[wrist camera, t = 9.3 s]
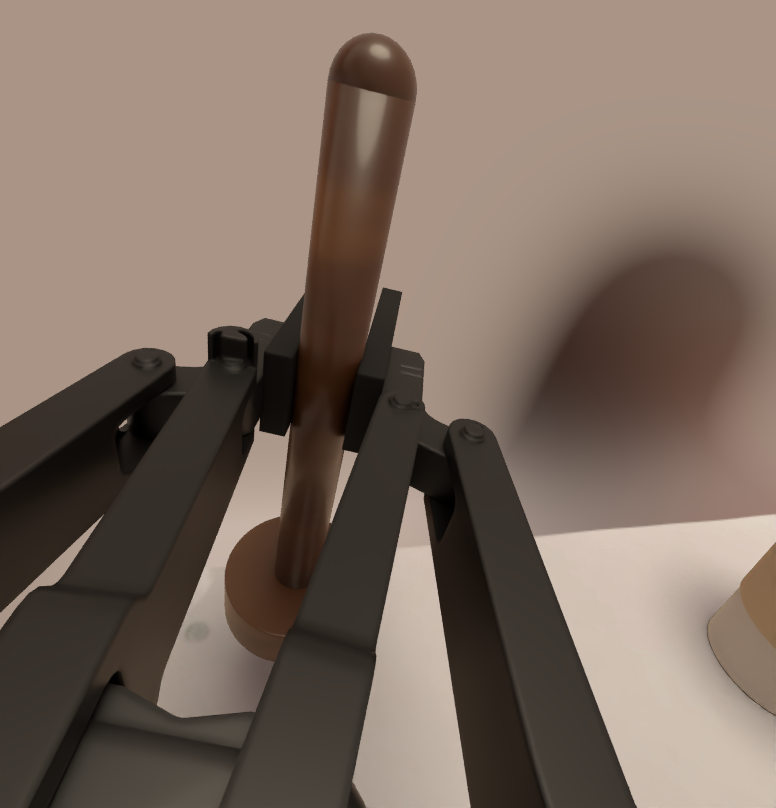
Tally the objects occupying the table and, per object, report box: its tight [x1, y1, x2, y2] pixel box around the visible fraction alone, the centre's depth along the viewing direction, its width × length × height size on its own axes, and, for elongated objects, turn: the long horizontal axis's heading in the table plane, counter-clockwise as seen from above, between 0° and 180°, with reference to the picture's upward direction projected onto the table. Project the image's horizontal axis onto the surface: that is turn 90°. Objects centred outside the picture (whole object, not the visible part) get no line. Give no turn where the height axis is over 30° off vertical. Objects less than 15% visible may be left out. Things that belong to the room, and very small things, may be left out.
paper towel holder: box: [225, 33, 417, 662], centre depth 14 cm, size 6×6×19 cm
